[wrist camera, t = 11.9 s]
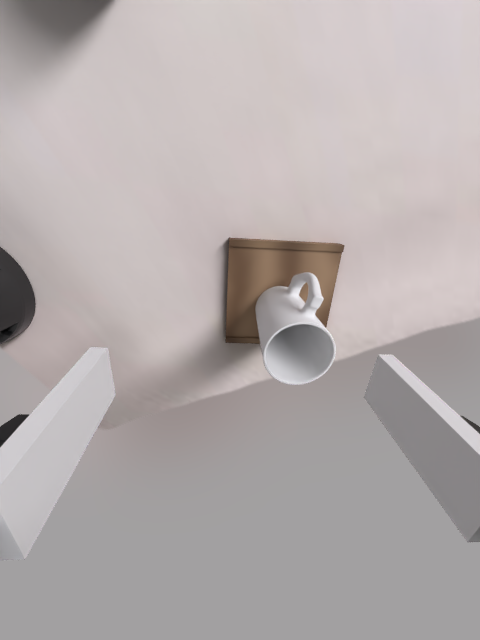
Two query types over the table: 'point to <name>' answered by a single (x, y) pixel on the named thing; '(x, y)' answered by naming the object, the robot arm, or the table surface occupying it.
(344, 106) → the table surface
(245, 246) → the wooden coaster
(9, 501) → the robot arm
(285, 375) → the mug
